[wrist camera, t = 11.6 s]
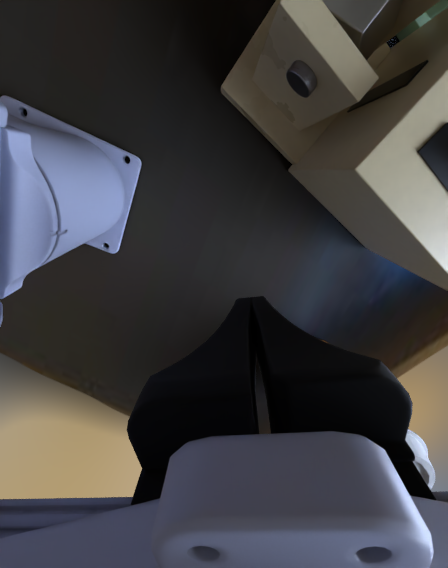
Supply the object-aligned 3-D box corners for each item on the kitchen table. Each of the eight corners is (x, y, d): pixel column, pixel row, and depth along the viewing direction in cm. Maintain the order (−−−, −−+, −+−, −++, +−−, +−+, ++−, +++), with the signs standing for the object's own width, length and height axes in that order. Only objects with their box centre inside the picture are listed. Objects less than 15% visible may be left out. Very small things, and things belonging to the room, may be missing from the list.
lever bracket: (220, 92, 16) (221, 16, 8) (307, -43, 14) (431, -341, 6) (292, 164, 18) (349, 159, 10) (380, 58, 16) (547, -59, 8)
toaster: (286, 169, 18) (353, 167, 9) (385, 49, 15) (626, -127, 6) (366, 248, 21) (478, 307, 12) (462, 160, 18) (706, 148, 9)
